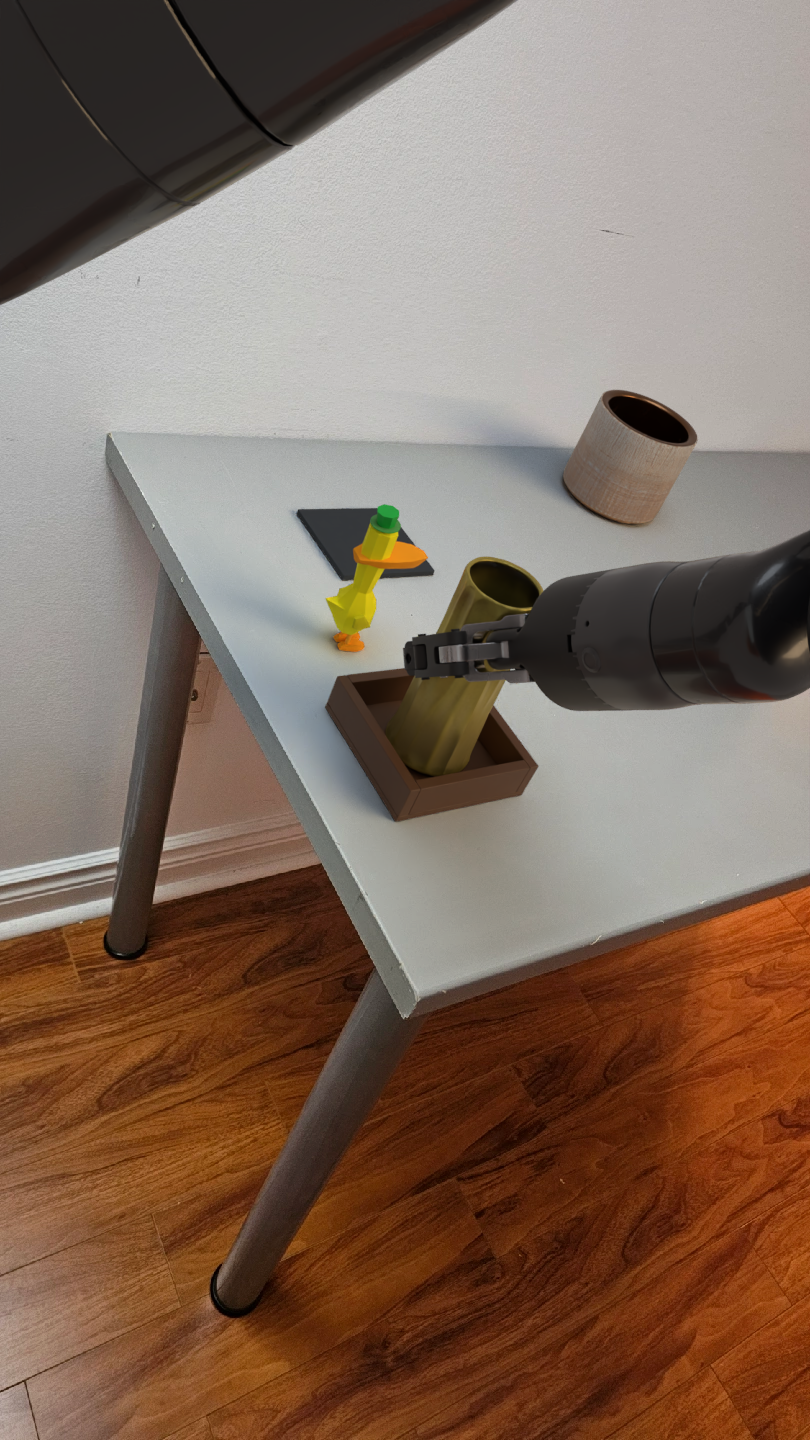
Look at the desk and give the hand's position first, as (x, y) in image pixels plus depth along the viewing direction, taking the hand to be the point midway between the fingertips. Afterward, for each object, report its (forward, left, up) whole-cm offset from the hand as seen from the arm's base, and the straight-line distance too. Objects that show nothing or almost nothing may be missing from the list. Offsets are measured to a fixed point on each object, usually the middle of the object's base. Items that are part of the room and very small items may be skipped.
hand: (448, 655), depth 69 cm
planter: (+26, +42, -8) cm, 50 cm away
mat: (-2, +22, -8) cm, 24 cm away
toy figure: (-4, +9, -8) cm, 12 cm away
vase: (+1, -2, -7) cm, 7 cm away
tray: (+1, -2, -7) cm, 8 cm away
